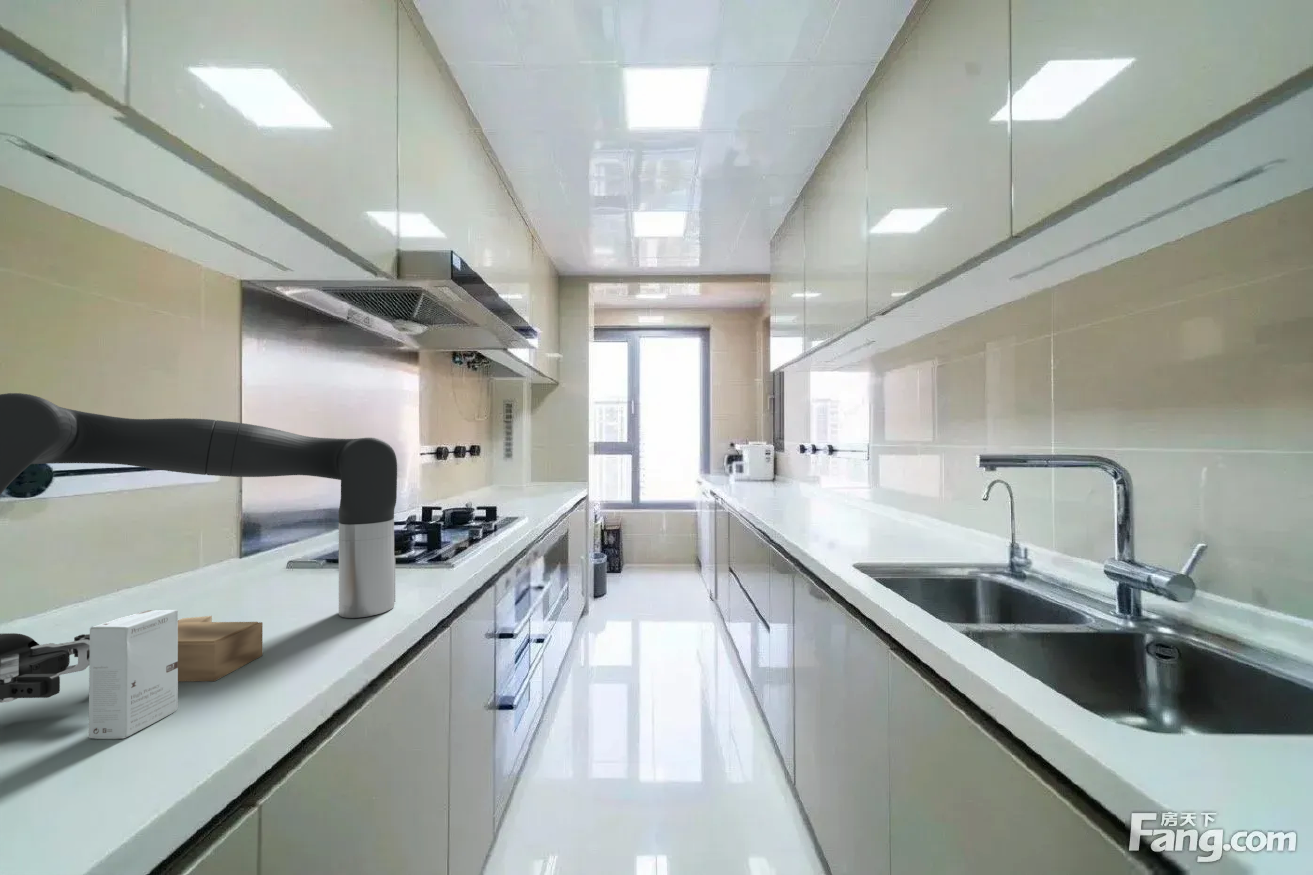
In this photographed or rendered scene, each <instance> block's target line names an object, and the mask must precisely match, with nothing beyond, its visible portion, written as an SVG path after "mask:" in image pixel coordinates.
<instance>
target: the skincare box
mask: <svg viewBox="0 0 1313 875" xmlns="http://www.w3.org/2000/svg"><path fill="white" fill-rule="evenodd" d="M178 612H179V611H178V609H160V610H159V609H158V610H155V609H154V610H152V609H151V610H143V611H140V612H136V613H134V614H131V615H126V616H122V617H118V618H116V619H112V620H110V621H107V622H103V623H100V624H97V625H94V626H90V628H89V634H90V657H89V666H88V667H89V668H88V671H89V672H88V674H89V675H88V676H89V678H88V679H89V680H88V682H89V683H88V684H89V686H88V738H89V739H96V740H97V739H98V740H119V739H126V738H128V737H130V736H132V735H134V734H136V733H138V732H139V731H141V730H143V729H145V728H147V727H149V726H152V724H155V723H157V722H158V721H160V720H162V719H164V718H166V717H168V716H170V715H171V714H173V713H174V712H176V711H177V710H178V708H179V701H178V699H179V689H178V688H179V682H178V620H179V618H178V617H179V614H178Z"/></svg>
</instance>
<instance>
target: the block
mask: <svg viewBox="0 0 1313 875" xmlns="http://www.w3.org/2000/svg"><path fill="white" fill-rule="evenodd" d="M212 620H213V616H212V615H207V616H205V615H204V616H195V617H193V616H192V617H182V618H180V619H178V624H181V623H184V622H213V621H212Z"/></svg>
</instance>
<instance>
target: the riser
mask: <svg viewBox="0 0 1313 875" xmlns="http://www.w3.org/2000/svg"><path fill="white" fill-rule="evenodd" d="M262 656H263V622H261V621H260V622H259V621H212V622H184V623H181V624H178V683H179V682H216V681H217V680H219V679H222V678H224V677H225V676H227V675H228V674H229V675H230V674H231V673H232V672H234V671H237V670H238V669H240V668H242V667H244V666H245V665H248V664H249V663H251V662H253V661H255V660H257V659H258V658H260V657H262Z"/></svg>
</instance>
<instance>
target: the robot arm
mask: <svg viewBox="0 0 1313 875" xmlns="http://www.w3.org/2000/svg"><path fill="white" fill-rule="evenodd" d="M397 460H398V459H397V455H396V452H395V450H394V449H393V447H392V446H391V445H390V444H389V443H388V442H386V441H384V440H382V439H380V438H375V437H360V438H358V437H357V438H334V437H333V438H332V437H331V438H329V437H317V436H316V437H314V436H307V435H301V434H297V433H294V432H289V431H284V430H281V429H276V428H271V427H267V426H262V425H255V424H252V423H251V424H250V423H243V422H236V421H235V422H234V421H228V420H217V419H209V418H207V419H206V418H185V417H184V418H180V417H179V418H126V417H118V416H112V415H105V414H99V413H92V412H86V411H81V410H75V409H70V408H65V407H63V406H62V407H61V406H59V405H57V404H55V403H54V402H52V401H49V400H48V399H45V398H43V397H40V396H36V395H33V394H27V393H20V392H19V393H17V392H15V393H13V392H12V393H11V392H10V393H8V392H7V393H0V496H1V495H2V494H3V493H4V491H5V490H6V489H7V487H8V486H9V485H10V484H11V483H12V482H13V481H14V480H15V479H16V478H17V477H18V476H19V475H20V474H21V473H22V472H24V471H25V470H26V469H27V468H28V467H30V466H31V465H39V464H40V465H42V464H44V465H45V464H49V465H51V464H104V465H105V464H107V465H108V464H109V465H123V466H124V465H125V466H133V467H139V468H145V469H150V470H151V469H153V470H156V471H157V470H159V471H166V472H173V473H181V474H193V475H200V476H201V475H202V476H215V477H236V478H268V477H269V478H270V477H287V476H289V477H290V476H309V477H318V478H324V479H333V480H337V481H340V503H339V508H338V616H340V617H342V618H346V619H354V618H365V617H371V616H376V615H380V614H383V613H386V612H388V611H390V610H392V609H393V608H394V607H395V603H396V556H395V509H396V508H395V507H396V505H397V500H398V499H397V498H398V497H397V490H398V461H397ZM71 655H73V656H74V658H77V664H74V665H70V660H71V659H70V656H71ZM89 657H90V633H89V634H85V633H84V634H83V633H82V634H79V635H78V636H74V640H73V641H69V642H63V643H53V642H52V643H51V642H50V643H44V644H40V643H38V642H37V641H36V640H35V639H33V638H32V637H31V636H28V635H26V634H21V633H16V632H15V633H14V632H11V633H3V632H2V633H1V632H0V703H10V702H12V701H14V700H17V699H39V698H40V699H41V698H43V699H46V698H51V697H53V696H56V695H58V694H59V693H60V690H61V688H60V687H61V677H60V676H61V675H67V674H71V673H78V672H81V671H85V670H86V669H87V668H88V667H89Z"/></svg>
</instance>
